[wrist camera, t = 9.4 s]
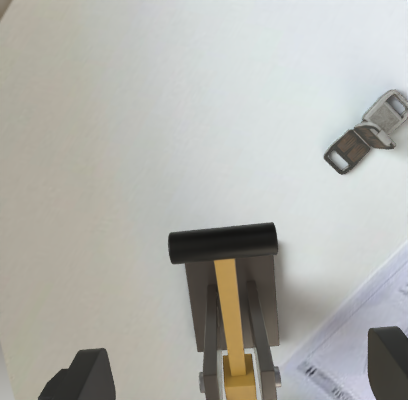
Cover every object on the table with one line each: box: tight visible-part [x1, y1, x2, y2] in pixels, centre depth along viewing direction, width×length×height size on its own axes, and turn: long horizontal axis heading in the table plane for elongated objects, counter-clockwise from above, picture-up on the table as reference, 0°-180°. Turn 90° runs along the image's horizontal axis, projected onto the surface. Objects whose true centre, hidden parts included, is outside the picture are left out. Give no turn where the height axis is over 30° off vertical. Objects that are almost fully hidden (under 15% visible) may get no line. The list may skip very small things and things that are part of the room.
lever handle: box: [168, 222, 278, 400], centre depth 23 cm, size 16×6×2 cm, turn 7°
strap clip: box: [324, 90, 408, 175], centre depth 31 cm, size 8×3×4 cm, turn 138°
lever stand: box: [185, 255, 281, 400], centre depth 31 cm, size 12×9×14 cm
